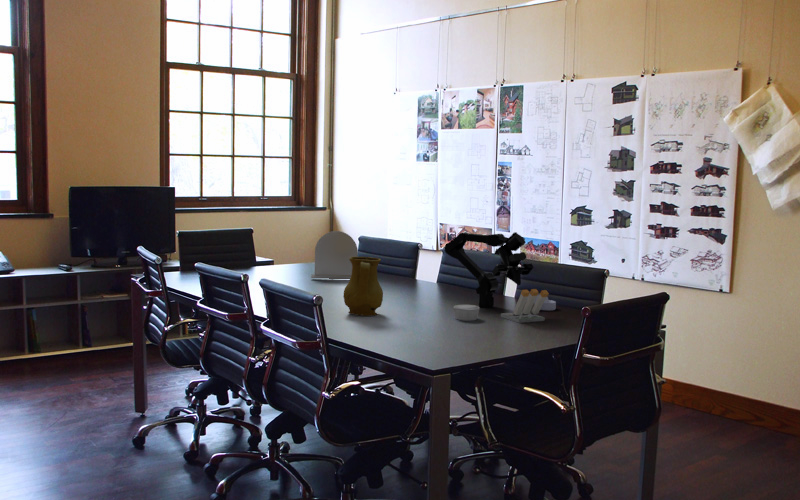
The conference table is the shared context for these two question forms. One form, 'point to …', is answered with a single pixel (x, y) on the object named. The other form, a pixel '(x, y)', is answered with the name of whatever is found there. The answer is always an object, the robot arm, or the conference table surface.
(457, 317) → the ramekin
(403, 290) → the conference table surface
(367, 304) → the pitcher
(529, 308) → the grey long bar piece
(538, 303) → the tripped breaker
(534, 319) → the panel
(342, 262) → the award
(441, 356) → the conference table surface
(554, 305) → the wedge on round base
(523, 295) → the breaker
